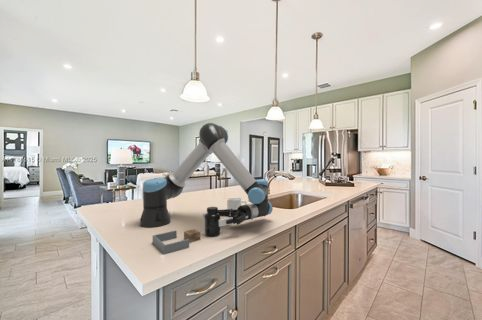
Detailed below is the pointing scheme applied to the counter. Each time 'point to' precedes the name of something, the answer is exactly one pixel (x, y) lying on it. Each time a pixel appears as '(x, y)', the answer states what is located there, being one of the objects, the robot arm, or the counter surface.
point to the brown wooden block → (192, 235)
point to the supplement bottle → (212, 222)
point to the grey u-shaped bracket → (172, 246)
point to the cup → (234, 203)
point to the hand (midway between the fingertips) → (210, 219)
